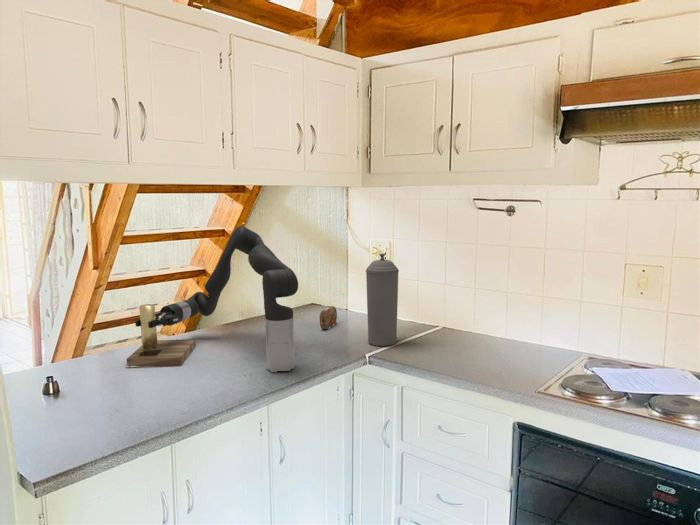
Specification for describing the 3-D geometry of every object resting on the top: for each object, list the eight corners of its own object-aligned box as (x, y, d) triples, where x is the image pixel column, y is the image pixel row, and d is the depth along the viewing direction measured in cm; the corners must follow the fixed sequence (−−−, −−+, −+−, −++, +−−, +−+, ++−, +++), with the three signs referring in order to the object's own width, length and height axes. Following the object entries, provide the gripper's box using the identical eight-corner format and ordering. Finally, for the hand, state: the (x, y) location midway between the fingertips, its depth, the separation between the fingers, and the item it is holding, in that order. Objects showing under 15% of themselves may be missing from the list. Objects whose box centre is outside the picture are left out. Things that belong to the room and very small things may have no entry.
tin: (325, 331, 215) (325, 312, 214) (318, 330, 216) (318, 311, 215) (337, 323, 230) (337, 304, 228) (331, 322, 231) (330, 304, 229)
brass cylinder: (155, 349, 176) (152, 307, 174) (140, 350, 175) (137, 307, 173) (159, 345, 181) (156, 303, 179) (144, 345, 180) (141, 304, 178)
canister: (369, 337, 205) (368, 251, 201) (400, 339, 203) (400, 251, 198) (363, 346, 193) (362, 255, 188) (396, 348, 190) (396, 255, 186)
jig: (181, 365, 173) (180, 357, 173) (127, 367, 172) (126, 359, 172) (195, 346, 195) (195, 339, 195) (147, 348, 194) (146, 340, 193)
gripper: (159, 302, 192) (125, 312, 176) (191, 304, 187) (158, 315, 171) (160, 321, 193) (127, 333, 177) (192, 324, 188) (160, 337, 172)
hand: (142, 324), depth 174 cm, fingers closed on brass cylinder, 5 cm apart
